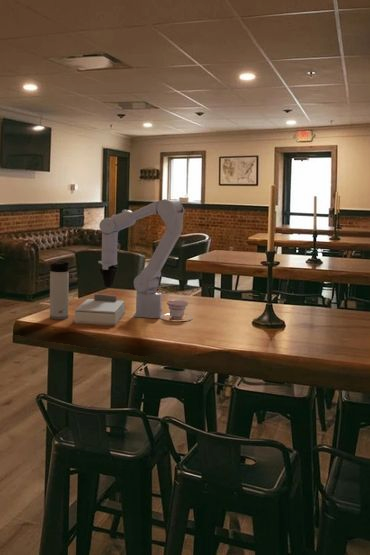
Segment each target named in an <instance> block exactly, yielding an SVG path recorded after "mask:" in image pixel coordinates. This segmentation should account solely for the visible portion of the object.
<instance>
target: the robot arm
mask: <svg viewBox="0 0 370 555" xmlns="http://www.w3.org/2000/svg"><path fill="white" fill-rule="evenodd" d="M184 214H185V208H184V206H183V204H182V202H181V201H180V200H178V199H165V198H163V199H161V200H157V201H153V202H151V203H149V204H147V205H145V206H143V207H141V208H138V209H136V210H134V211H132V210H130V209H122V210H121V212H119V213H117V214H112V215H110V216H111V217H104V218H103V219H101V220H100V222H99V225H98V226H99V227H98V228H99V231H100V232H101V260H98V263H97V264H101V267H100V268H99V271H100V273H101V276H102V279H103V284H104V287H107V288H111V287H112V286H113V285H114V280H115V275H116V273H117V271H118V269H119V266H118V237H119V232H120V231H122V230H124V229H126V228H129V227H131V226H132V227H133V226H134V225H135V224H136V221H138V220H140V219H143V218H146V217H149V216H151V215H152V216H153V215H158V216H159V217H160V218H161V220H162V221H163V222H164V224H165V227H166V229H165V231H164V233H163V234H162V237H161V239H160V241H159V243H158V245H157V246H156V248H155V250H154V251H153V254H152V256H151V258H150V259H149V261H148V263H147V265H146V266H145V267H144V268H143V269H142V270H141V272H140V273H139V274H138V275H137V276H135V278H134V279H133V286H134V289H135V290H136V291H135V292H136V293H135V294H136V296H135V298H136V300H135V313H134V314H133V316H132V317H133V318H146V319H147V318H150V319H160V316H161V315H162V311H163V310H162V300H163V295H162V292H157V288H158V286H159V284H160V278H161V276H162V272H161V271H162V269H163V267H164V266H165V263H166V262H167V260H168V258H169V257H170V255H171V252H172V251H173V249H174V248H175V245H176V243H177V241H178V240H179V238H180V236H181V234H182V232H183V230H184Z"/></svg>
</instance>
